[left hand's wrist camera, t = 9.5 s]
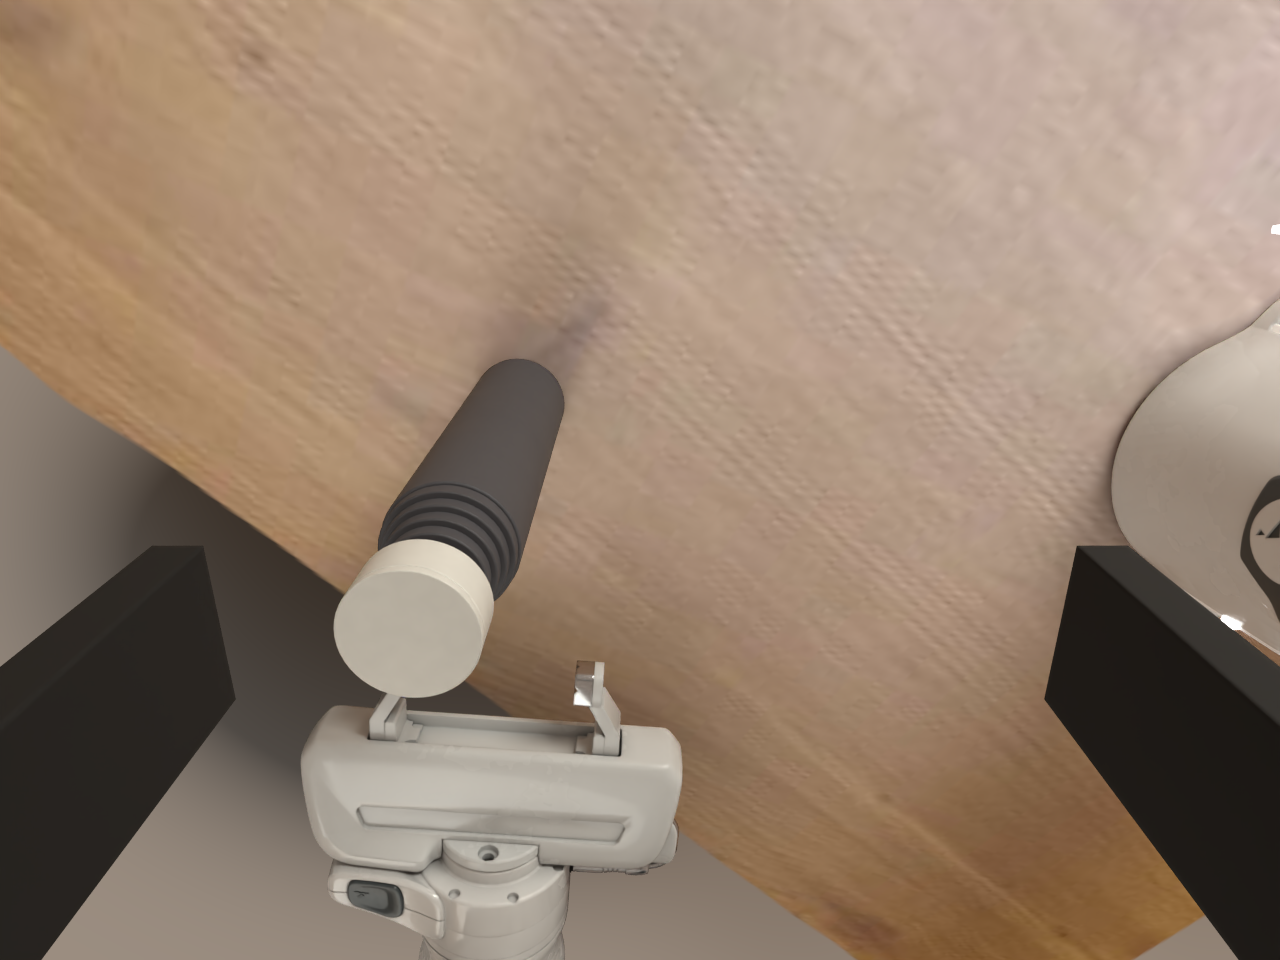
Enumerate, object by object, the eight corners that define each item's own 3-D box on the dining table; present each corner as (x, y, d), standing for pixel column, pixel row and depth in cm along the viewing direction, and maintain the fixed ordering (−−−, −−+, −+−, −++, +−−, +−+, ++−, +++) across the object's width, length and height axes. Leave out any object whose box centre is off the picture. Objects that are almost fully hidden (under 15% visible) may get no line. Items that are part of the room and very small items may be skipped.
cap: (331, 612, 25) (306, 649, 23) (401, 512, 23) (381, 542, 22) (447, 681, 26) (432, 722, 24) (520, 588, 24) (511, 623, 23)
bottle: (457, 411, 44) (295, 643, 23) (507, 340, 43) (381, 520, 22) (531, 461, 45) (439, 726, 24) (582, 393, 44) (530, 614, 23)
